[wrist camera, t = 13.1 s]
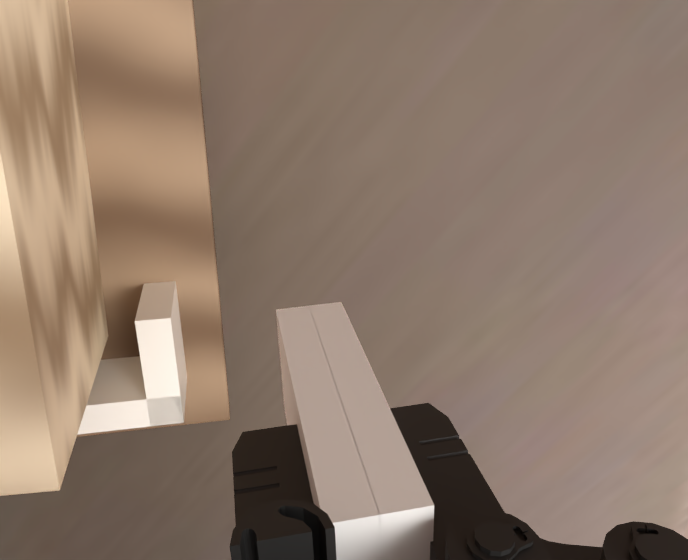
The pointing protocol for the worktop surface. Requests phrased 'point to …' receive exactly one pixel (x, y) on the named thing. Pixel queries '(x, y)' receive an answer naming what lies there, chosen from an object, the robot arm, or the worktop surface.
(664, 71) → the worktop surface
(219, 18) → the worktop surface
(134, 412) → the end caps
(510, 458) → the worktop surface
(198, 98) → the walnut board
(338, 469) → the robot arm
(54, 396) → the slat
